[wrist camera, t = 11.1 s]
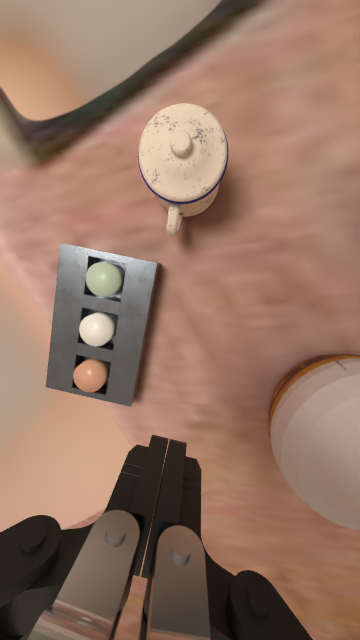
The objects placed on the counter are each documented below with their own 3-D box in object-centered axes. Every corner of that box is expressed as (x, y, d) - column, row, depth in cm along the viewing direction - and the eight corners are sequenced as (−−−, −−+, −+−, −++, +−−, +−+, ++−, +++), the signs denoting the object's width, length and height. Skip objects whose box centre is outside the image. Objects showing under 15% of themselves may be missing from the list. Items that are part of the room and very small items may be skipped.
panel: (71, 244, 37) (60, 242, 34) (160, 263, 37) (156, 262, 34) (56, 378, 41) (45, 387, 38) (135, 396, 41) (130, 406, 38)
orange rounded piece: (85, 352, 40) (75, 360, 36) (113, 358, 39) (105, 366, 36) (82, 378, 41) (71, 388, 37) (109, 384, 40) (101, 395, 37)
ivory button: (91, 307, 38) (81, 311, 35) (120, 314, 38) (113, 318, 35) (88, 336, 39) (77, 342, 36) (116, 342, 39) (108, 349, 36)
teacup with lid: (159, 138, 34) (139, 72, 22) (228, 152, 33) (243, 91, 22) (143, 233, 36) (117, 217, 25) (207, 246, 36) (211, 236, 24)
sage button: (98, 260, 37) (88, 259, 33) (128, 266, 37) (121, 266, 33) (94, 290, 38) (83, 292, 34) (123, 296, 38) (116, 299, 34)
